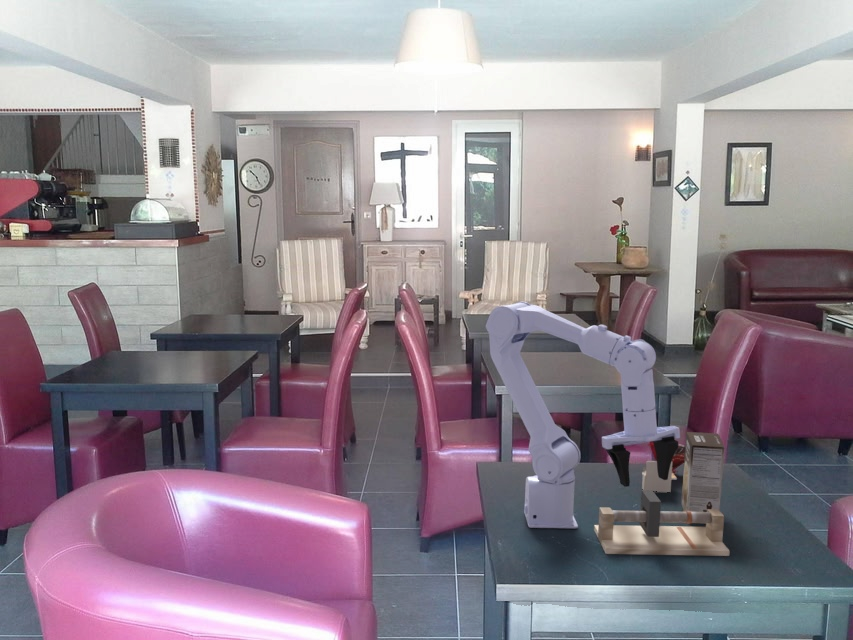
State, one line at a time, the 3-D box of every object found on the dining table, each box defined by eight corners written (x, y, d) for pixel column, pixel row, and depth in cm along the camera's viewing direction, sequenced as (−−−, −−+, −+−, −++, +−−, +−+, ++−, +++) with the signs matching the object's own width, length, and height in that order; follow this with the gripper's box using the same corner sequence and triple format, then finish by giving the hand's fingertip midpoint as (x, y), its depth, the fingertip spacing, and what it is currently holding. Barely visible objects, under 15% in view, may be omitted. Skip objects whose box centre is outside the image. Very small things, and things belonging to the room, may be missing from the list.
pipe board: (605, 553, 135) (607, 521, 134) (593, 529, 145) (595, 499, 144) (729, 555, 135) (731, 523, 134) (708, 531, 145) (711, 501, 144)
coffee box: (680, 504, 158) (685, 430, 155) (712, 507, 156) (718, 432, 154) (685, 522, 149) (691, 444, 146) (720, 526, 148) (726, 446, 145)
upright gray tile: (647, 536, 137) (649, 501, 136) (639, 524, 142) (641, 490, 141) (658, 536, 137) (661, 501, 136) (650, 524, 142) (652, 490, 141)
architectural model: (640, 488, 168) (642, 456, 167) (671, 488, 168) (673, 456, 167) (643, 494, 165) (645, 461, 164) (676, 494, 165) (678, 462, 163)
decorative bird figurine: (641, 475, 174) (644, 434, 173) (702, 466, 181) (705, 426, 179) (649, 480, 172) (652, 437, 170) (710, 470, 178) (713, 430, 177)
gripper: (612, 417, 131) (618, 494, 132) (687, 406, 134) (692, 481, 135) (594, 410, 138) (600, 483, 139) (666, 400, 141) (671, 471, 142)
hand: (644, 481), depth 138 cm, fingers open, 7 cm apart
